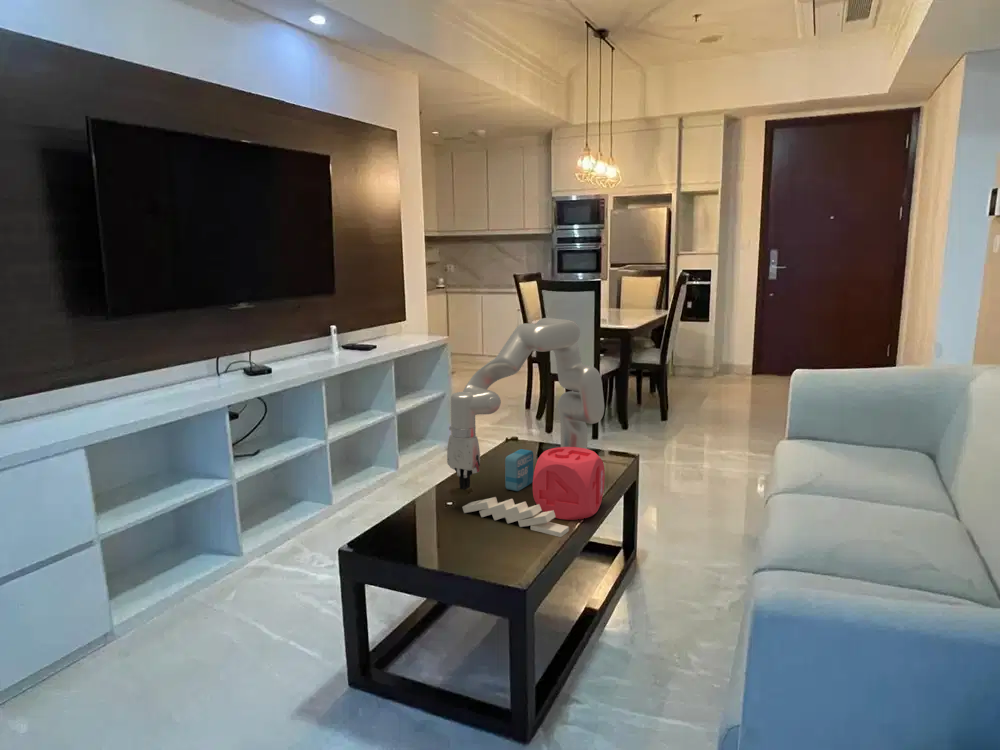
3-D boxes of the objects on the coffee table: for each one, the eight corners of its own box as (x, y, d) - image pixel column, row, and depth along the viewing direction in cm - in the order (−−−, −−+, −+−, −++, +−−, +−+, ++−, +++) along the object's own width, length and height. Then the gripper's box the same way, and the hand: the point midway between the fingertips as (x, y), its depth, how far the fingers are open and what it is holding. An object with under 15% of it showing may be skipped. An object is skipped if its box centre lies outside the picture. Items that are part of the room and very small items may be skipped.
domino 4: (505, 517, 200) (530, 509, 194) (514, 511, 204) (539, 504, 198) (507, 523, 199) (533, 516, 194) (516, 517, 204) (541, 510, 198)
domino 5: (517, 520, 197) (545, 516, 191) (526, 515, 201) (553, 510, 195) (519, 527, 197) (547, 522, 191) (528, 521, 201) (555, 516, 195)
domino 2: (479, 511, 205) (503, 503, 199) (488, 506, 209) (512, 498, 203) (481, 517, 205) (506, 509, 199) (490, 512, 209) (514, 504, 203)
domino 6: (530, 525, 195) (560, 532, 189) (539, 519, 199) (568, 526, 194) (530, 531, 195) (560, 539, 190) (539, 525, 199) (568, 533, 194)
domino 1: (462, 506, 208) (486, 501, 203) (471, 501, 212) (495, 496, 207) (464, 513, 208) (488, 508, 203) (473, 508, 212) (497, 503, 207)
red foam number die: (587, 524, 198) (588, 466, 195) (532, 515, 206) (531, 459, 203) (604, 503, 214) (605, 450, 211) (552, 495, 222) (552, 444, 219)
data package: (516, 492, 225) (516, 458, 223) (505, 490, 228) (504, 456, 226) (533, 482, 235) (533, 449, 233) (522, 480, 238) (522, 447, 236)
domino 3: (491, 514, 202) (516, 506, 197) (501, 509, 206) (525, 501, 201) (494, 520, 202) (519, 512, 196) (503, 515, 206) (528, 507, 200)
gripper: (437, 431, 207) (438, 487, 211) (476, 438, 199) (477, 496, 203) (451, 426, 214) (453, 480, 217) (490, 432, 206) (491, 489, 209)
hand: (464, 488), depth 210 cm, fingers closed
